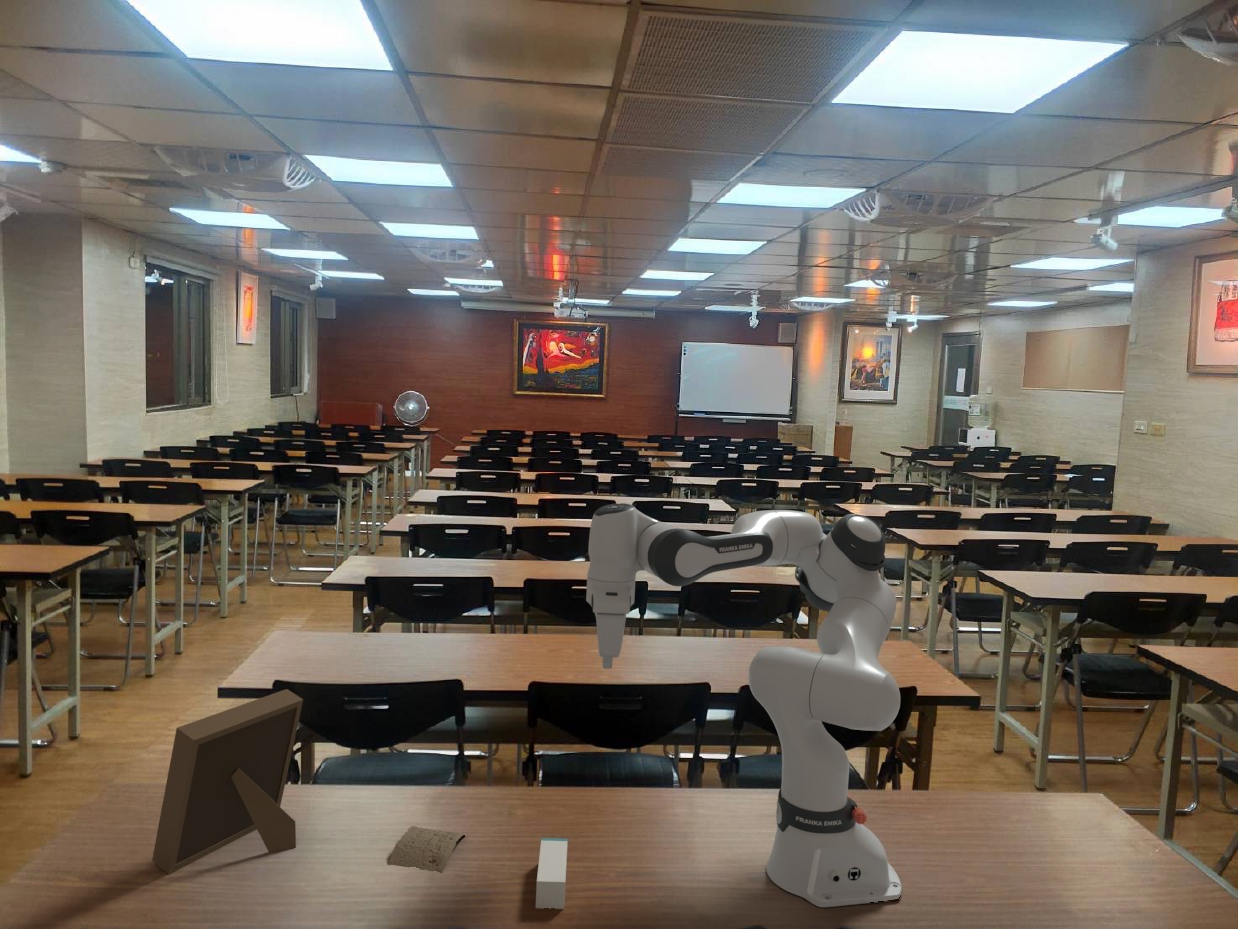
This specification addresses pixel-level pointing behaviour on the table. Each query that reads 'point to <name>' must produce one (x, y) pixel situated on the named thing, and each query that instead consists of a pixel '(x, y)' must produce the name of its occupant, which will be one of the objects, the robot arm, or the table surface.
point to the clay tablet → (424, 849)
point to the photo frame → (229, 781)
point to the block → (551, 873)
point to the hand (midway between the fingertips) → (607, 666)
